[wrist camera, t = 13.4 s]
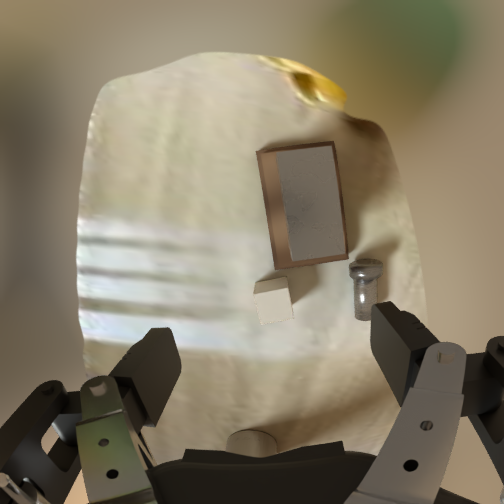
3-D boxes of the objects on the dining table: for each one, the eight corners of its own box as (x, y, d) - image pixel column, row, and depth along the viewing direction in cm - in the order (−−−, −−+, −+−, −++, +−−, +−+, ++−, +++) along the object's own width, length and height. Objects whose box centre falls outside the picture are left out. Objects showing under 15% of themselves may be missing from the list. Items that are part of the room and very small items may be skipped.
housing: (321, 152, 29) (332, 145, 23) (333, 240, 32) (345, 254, 26) (275, 158, 30) (275, 152, 24) (289, 247, 32) (292, 262, 26)
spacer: (292, 304, 37) (294, 318, 33) (262, 310, 37) (260, 324, 33) (286, 276, 36) (287, 287, 32) (255, 282, 36) (253, 294, 32)
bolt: (376, 307, 36) (387, 321, 32) (348, 313, 36) (355, 327, 32) (376, 257, 34) (387, 266, 30) (345, 262, 35) (354, 272, 31)
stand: (345, 255, 34) (350, 261, 32) (274, 266, 35) (274, 272, 33) (331, 142, 31) (335, 139, 29) (256, 152, 32) (255, 150, 30)
